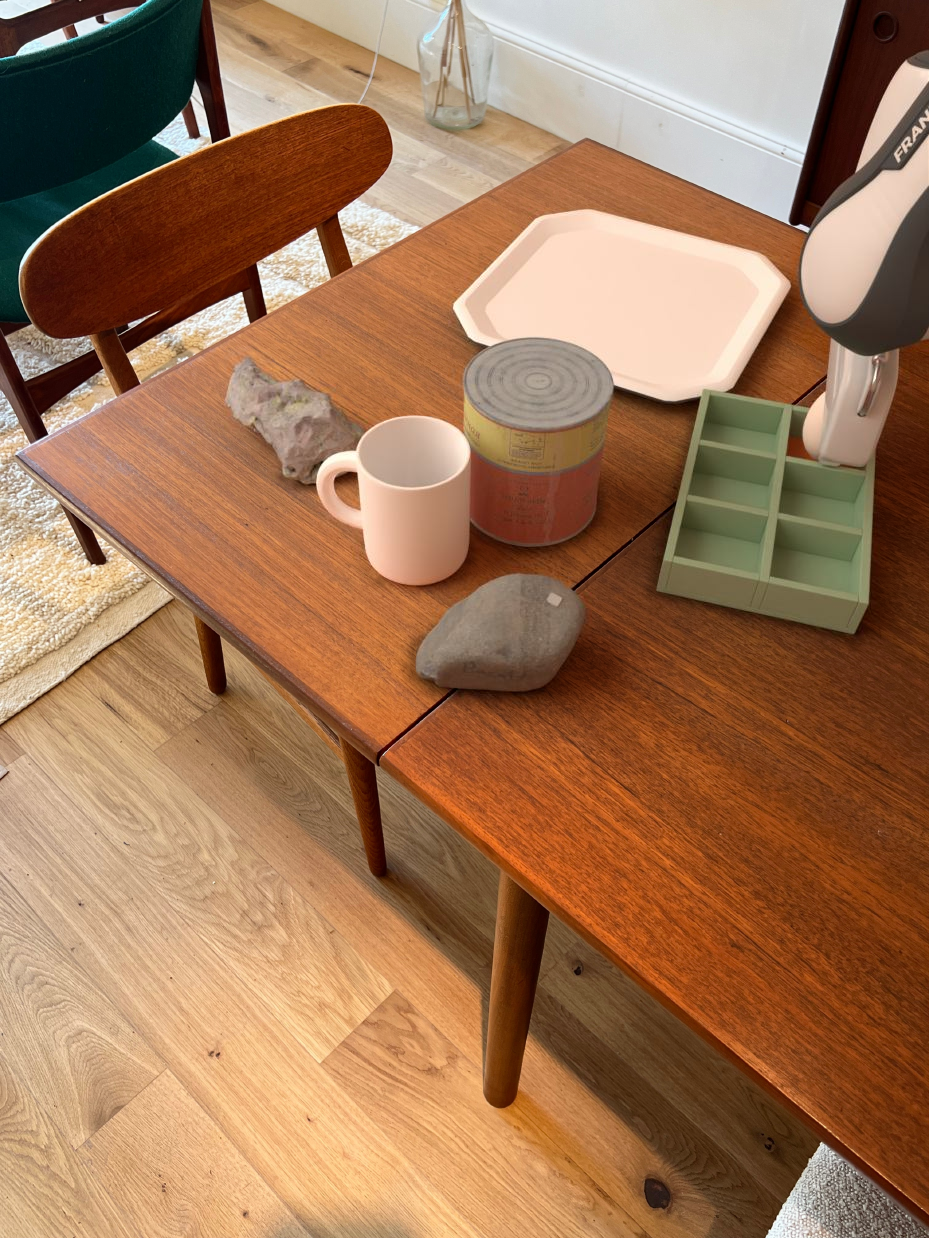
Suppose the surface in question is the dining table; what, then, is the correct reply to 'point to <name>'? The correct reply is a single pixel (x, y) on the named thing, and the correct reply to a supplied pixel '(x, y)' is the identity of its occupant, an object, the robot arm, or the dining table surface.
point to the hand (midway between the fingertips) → (830, 437)
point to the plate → (630, 301)
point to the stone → (504, 635)
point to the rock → (291, 420)
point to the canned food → (535, 438)
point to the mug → (407, 497)
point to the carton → (769, 519)
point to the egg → (814, 427)
